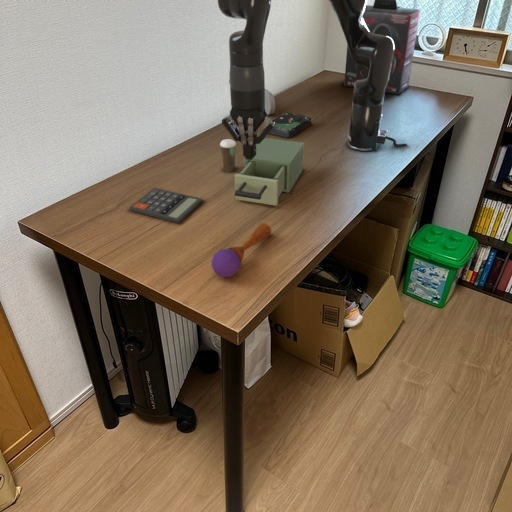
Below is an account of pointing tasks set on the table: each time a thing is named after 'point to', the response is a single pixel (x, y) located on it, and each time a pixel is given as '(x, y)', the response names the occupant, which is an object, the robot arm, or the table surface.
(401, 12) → the headset box
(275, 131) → the disk drive
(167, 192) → the calculator
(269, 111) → the gray flat panel
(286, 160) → the cabinet
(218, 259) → the kendama
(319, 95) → the table surface
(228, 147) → the milkshake
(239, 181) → the drawer
